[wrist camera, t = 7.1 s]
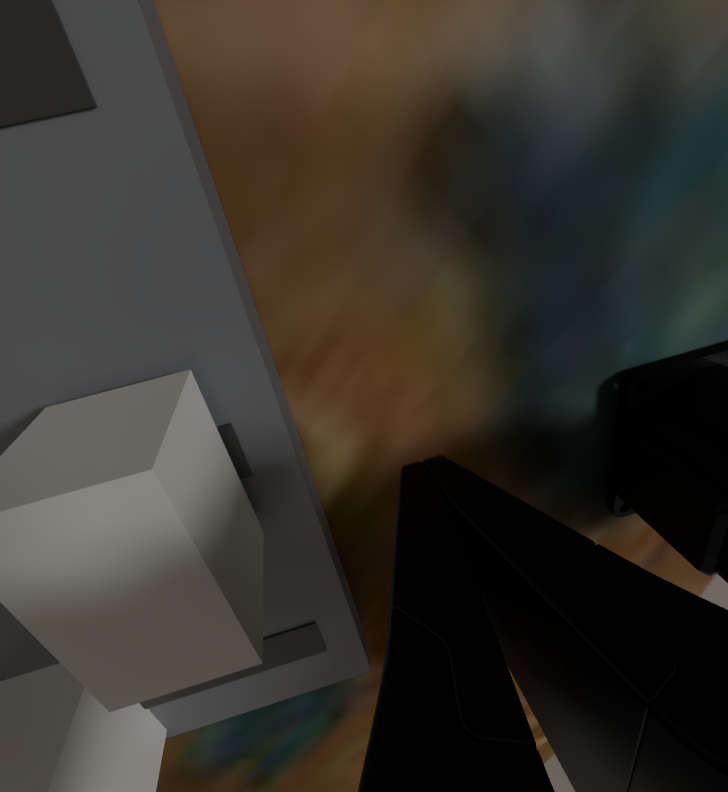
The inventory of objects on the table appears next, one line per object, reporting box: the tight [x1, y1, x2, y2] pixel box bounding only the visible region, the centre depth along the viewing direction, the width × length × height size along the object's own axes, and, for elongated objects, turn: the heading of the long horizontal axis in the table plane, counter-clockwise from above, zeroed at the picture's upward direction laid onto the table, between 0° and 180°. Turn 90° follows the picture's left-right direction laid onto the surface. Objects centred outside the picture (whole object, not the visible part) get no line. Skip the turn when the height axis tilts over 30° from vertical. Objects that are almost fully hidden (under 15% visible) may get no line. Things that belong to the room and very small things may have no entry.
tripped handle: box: [0, 369, 264, 712], centre depth 9 cm, size 3×5×4 cm, turn 12°
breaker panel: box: [0, 0, 371, 792], centre depth 9 cm, size 12×22×6 cm, turn 12°
